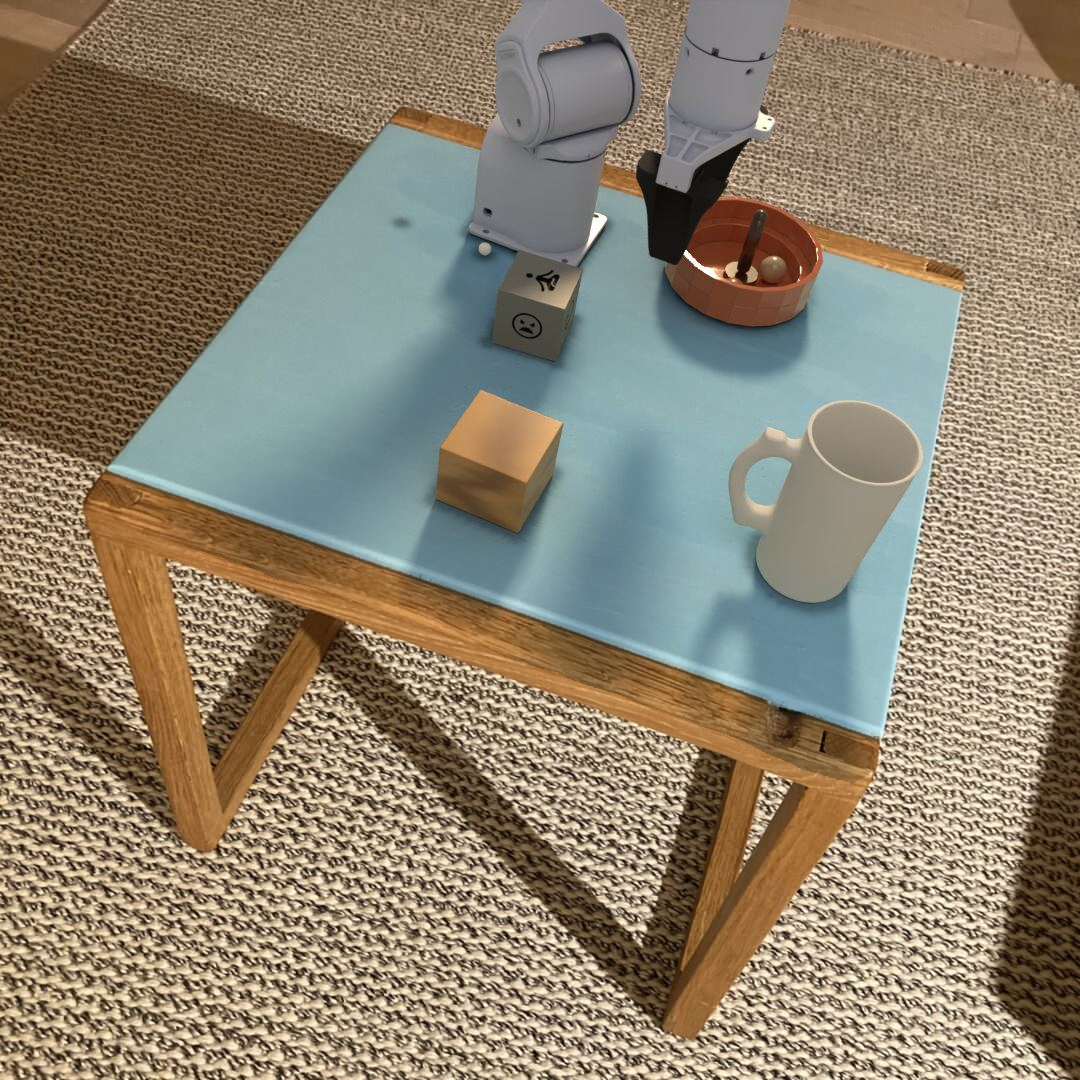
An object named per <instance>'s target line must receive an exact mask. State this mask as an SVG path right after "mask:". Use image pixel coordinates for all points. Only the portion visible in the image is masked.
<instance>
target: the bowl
mask: <svg viewBox="0 0 1080 1080" xmlns="http://www.w3.org/2000/svg"><path fill="white" fill-rule="evenodd" d="M760 209H762V210H765V211H766V213H767V215H768V217H767V221H766V224H765V227H764V230H763V233H762V235H761V238H760V241H759V244H758V247H757V250H756V253H755V256H754V259H753V262H752V265H751V266H753V267H754V268H755V269H756V270H757V272H758V280H757V282H756V284H755V285H754V286H749V285H743V284H738V283H735V282H733V281H730V280H727V279H725V278H724V276H723V273H724V270H725V267H726V265H727V264H729V263H731V262H736V261H739V258H740V254H741V251H742V248H743V245H744V242H745V239H746V236H747V233H748V230H749V227H750V224H751V221H752V218H753V215H754V213H755V212H756V211H757V210H760ZM769 256H778V257H780V258H782V259H783V260H784V262H785V263H786V267H787V271H786V275H785V277H784V278H783V279H782V280H781V281H779V282H777V283H773V284H771V283H767V282H765V281H764V280H763V279H762V278H761V276H760V274H759V267H760V264H761V262H762V261H763V260H764V259H765V258H767V257H769ZM823 263H824V255H823V248H822V245H821V243H820V242H819V240H818V239H817V236H816V234H815V233H814V232H813V230H812V229H810V228H809V227H808V226H807V225H806V224H805V223H804V222H803V221H801V219H799V218H798V217H796V216H794V215H793V214H791V213H789V212H787V211H786V210H784V209H782V208H781V207H778V206H775V205H773V204H770V203H767V202H765V201H761V200H758V199H754V198H753V199H752V198H748V197H742V196H734V195H733V196H720V198H719V199H718V200H717V201H716V202H715V203H714V205H713V206H712V207H711V209H710V208H709V209H708V210H707V211H706V213H705V214H704V215H703V216H702V218H701V220H700V221H699V224H698V226H697V228H696V230H695V232H694V235H693V237H692V239H691V241H690V244H689V246H688V248H687V250H686V251H685V253H684V255H683V257H682V258H681V260H680V261H679V263H678V264H677V265H673V264H670V263H667V262H665V263H664V264H665V265H664V267H665V268H664V273H665V275H666V277H667V280H668V281H669V284H670V287H671V288H672V289H673V290H674V291H675V292H676V293H677V295H678V296H679V297H681V299H682V300H683V301H684V302H685V303H686V304H688V305H689V306H691V307H692V308H694V309H696V310H697V311H699V312H701V313H702V314H704V315H706V316H709V317H712V318H713V319H716V320H720V321H722V322H724V323H728V324H734V325H739V326H746V327H764V326H767V327H768V326H775V325H778V324H781V323H784V322H787V321H790V320H791V319H793V318H794V317H795V316H797V315H798V314H799V313H800V312H802V311H803V310H804V309H805V308H806V305H807V302H808V300H809V299H810V296H811V294H812V291H813V289H814V286H815V283H816V281H817V278H818V277H819V273H820V271H821V270H822V269H821V268H822V266H823Z"/></svg>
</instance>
